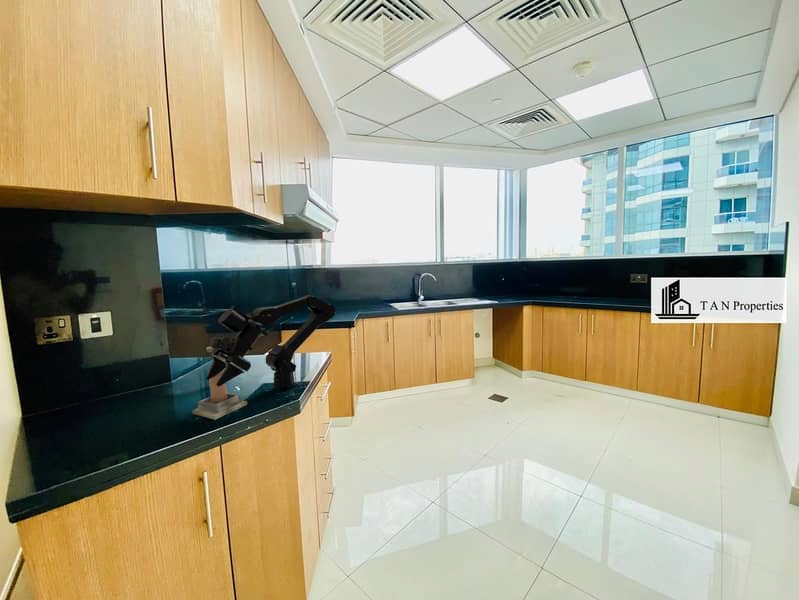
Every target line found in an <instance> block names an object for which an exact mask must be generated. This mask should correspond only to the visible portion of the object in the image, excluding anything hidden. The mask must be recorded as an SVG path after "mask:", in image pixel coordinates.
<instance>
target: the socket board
mask: <svg viewBox="0 0 799 600" xmlns="http://www.w3.org/2000/svg"><path fill="white" fill-rule="evenodd" d="M227 398H228V400H225V401H223V402H221V403H218V404H212V401H211V396H209V397H207V398H205V399H204V398H203V399H201V400H199V401H197V408H195V409H193V410H192V411H191V412H192V414H193V415H196V416H199V417H200V416H201V417H203V418H207V419H212V420H217V419H220V418H221V417H224V416H225V415H228V414H230V413H233V412H235V411H237V410H239V409H241V408H243V407H245V406H247V405H248V401H246V400H242V396H241V394H237V393H233V392H228V391H227Z"/></svg>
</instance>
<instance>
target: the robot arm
mask: <svg viewBox="0 0 799 600" xmlns="http://www.w3.org/2000/svg"><path fill="white" fill-rule="evenodd" d="M307 308H308V309H309V310H310V311H311V313H310V316H309V318H308V319H307V320H306V321H305V322H304V323H303V324H302V325H301V327H300V326H299V328H298V329H297V330H296V331H295V332H294V334H292V335H291V337H289V339H287V341H285V343H283V344H282V345H280V344H275V345H273V347H272V348H271V349H270V350H269V351H267V355H266V356H265V364H266V365H267V366H268V367H270V369H271V371H274V372H273V386H272V388H271V389H272V390H275V391H281V392H286V391H288V390H291V389H294V387H297V386H298V383H296V382H295V375H294V372H296V369H297V365H296V364H295V363H294V362H292V361H293V358H294V355H295V352H296V351H297V350H298V349H299V348H300V347H301V346H302V345H303V344H304V343H305V342H306V340H307V339H309V337H310V336H311V335H313V333H314V332H315V331H316V330H317V329H318V328H319V327H320V326H321V325H323V324H325V323H327V322H329V321H331V319H333V318H334V317H335V315H336V308H335V305H333V304H332V303H327V302H326V301H322V300H320V299H319V298H317V297H315V296H314V295H304V296H302V297H299V298H296V299H293V300H290V301H287V302H284V303H281V304H278V305H274V306H265V307H257V308H256V309H254V310H252V312H250V313H246V314H245V313H244V312H243V311H241V310H240V308H238V307H237V306H235V305H232V306H231V307H230V308H229V309H227V310H225V312H223V313H222V314H220V317H219V319H218V320H217V321H218V323H219V324H221V325H222V326H223V327H225V328H226V329H228V330H229V331H231V332H232V333H237V332H238V334H237V335H236V336H235V337H231V338H230V337H225V336H222V337H221V338H220V337H215V336H211V339H210V342H209V344H208V347H211V348H214V350H213V351H212V352H211V353H210V357H211V360H213V363H212V364H211V366H210V369H209V371H208V373H207V376H206V380H207V381H209V379H210V378H213V377H215V376H216V375H217V374H219V373H220V372H221V371H222V370H224V369H225V370H224V372H223V374H222V375H221V377H220V379H219V380H218V382H217V384H216V385H217V386H221V385H223V384H224V383H226V384H227V382H229V381H231V380H233V379H234V378H236V377H237V376H240V375H242V374H245V372H249V370H250V369H251V368H252V365H251V364H252V363H251V362H250V361H249V360H248V359H246V358H244V357H245V356H246V355H247V353H248V352H249V351H250V352H251V351H252V350H253V349H254V348H253V345H254V344H255V343H256V341H257V340H258V339H259V338H260V336H262V337H268V332H267V328H265V326H266V327H267V326H270V325H273V324H274V323H276V322H277V321H280V319H281V318H283V317H285V316H287V315H290V314H293V313H295V312H298V311H301V310H304V309H307ZM250 322H251V323H250ZM252 323H254V324H252ZM260 326H264V327H263V328H262V327H260ZM212 354H213V355H214V356H213V355H212Z"/></svg>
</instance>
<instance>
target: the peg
mask: <svg viewBox="0 0 799 600" xmlns="http://www.w3.org/2000/svg"><path fill="white" fill-rule="evenodd" d="M220 377H221V376H216V377H213V378H210V379H209V380H208V383H209V391H210V397H211V401H212V404H218V403H221V402H223V401H225V400H228V398H227V392H228V391H227V382H226V383H224V384H223V385H221V386H217V385H216V384H217V382H218V380H219V379H220Z"/></svg>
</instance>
